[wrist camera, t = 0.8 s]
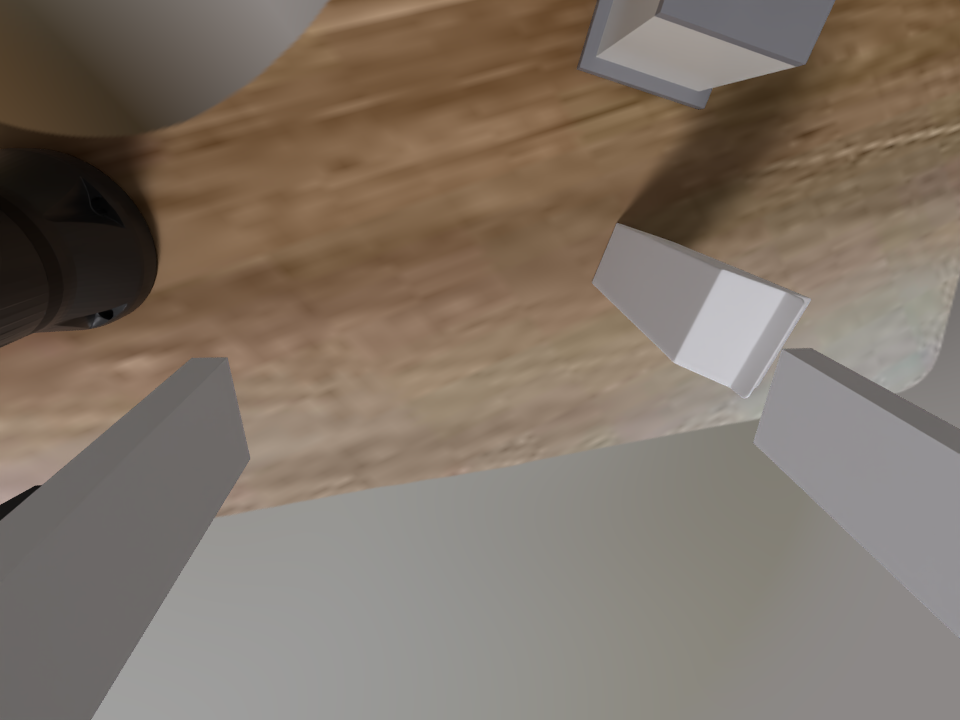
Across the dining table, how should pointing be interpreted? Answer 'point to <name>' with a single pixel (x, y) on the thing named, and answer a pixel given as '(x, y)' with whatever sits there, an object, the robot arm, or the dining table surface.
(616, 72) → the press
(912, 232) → the dining table surface
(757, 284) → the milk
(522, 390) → the dining table surface
